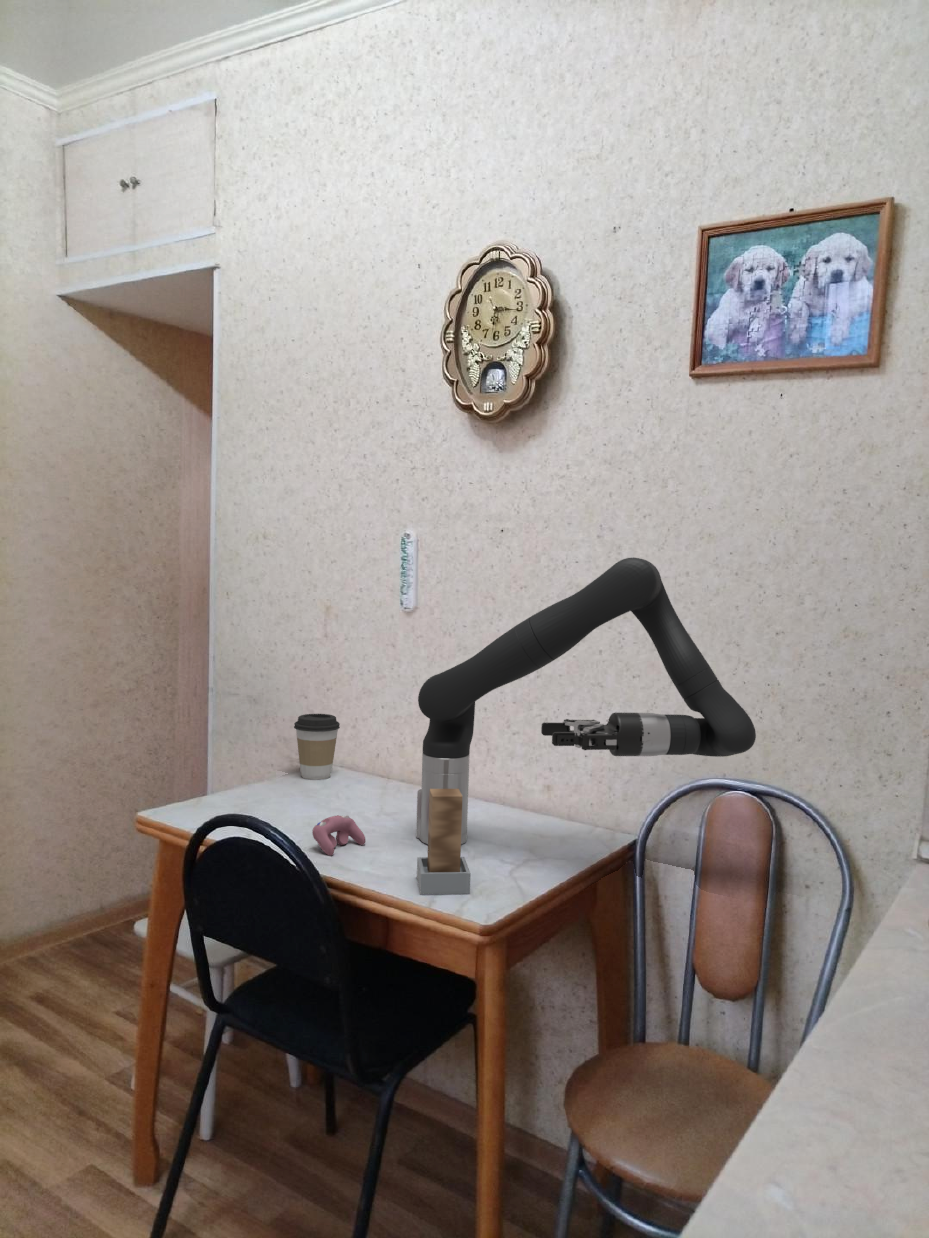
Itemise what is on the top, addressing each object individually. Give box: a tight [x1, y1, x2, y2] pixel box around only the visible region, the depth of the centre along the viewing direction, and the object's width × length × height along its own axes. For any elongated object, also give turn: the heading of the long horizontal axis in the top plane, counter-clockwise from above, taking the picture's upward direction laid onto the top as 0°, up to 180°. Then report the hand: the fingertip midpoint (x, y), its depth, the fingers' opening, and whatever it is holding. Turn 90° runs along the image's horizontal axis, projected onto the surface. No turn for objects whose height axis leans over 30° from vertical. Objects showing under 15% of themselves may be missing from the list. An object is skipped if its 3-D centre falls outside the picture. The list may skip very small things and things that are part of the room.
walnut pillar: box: [427, 789, 462, 873], centre depth 153 cm, size 5×5×14 cm
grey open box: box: [416, 856, 471, 896], centre depth 153 cm, size 8×8×4 cm
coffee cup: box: [293, 713, 341, 781], centre depth 224 cm, size 11×11×15 cm
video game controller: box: [311, 814, 366, 857], centre depth 171 cm, size 10×5×7 cm, turn 142°
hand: (547, 733), depth 154 cm, fingers open, 8 cm apart
